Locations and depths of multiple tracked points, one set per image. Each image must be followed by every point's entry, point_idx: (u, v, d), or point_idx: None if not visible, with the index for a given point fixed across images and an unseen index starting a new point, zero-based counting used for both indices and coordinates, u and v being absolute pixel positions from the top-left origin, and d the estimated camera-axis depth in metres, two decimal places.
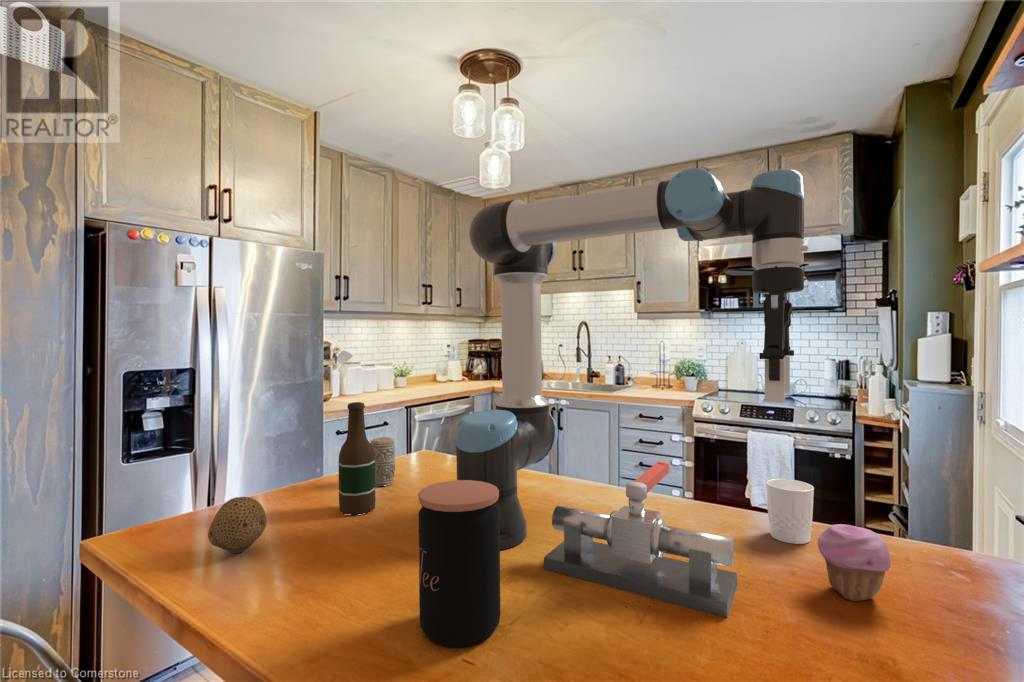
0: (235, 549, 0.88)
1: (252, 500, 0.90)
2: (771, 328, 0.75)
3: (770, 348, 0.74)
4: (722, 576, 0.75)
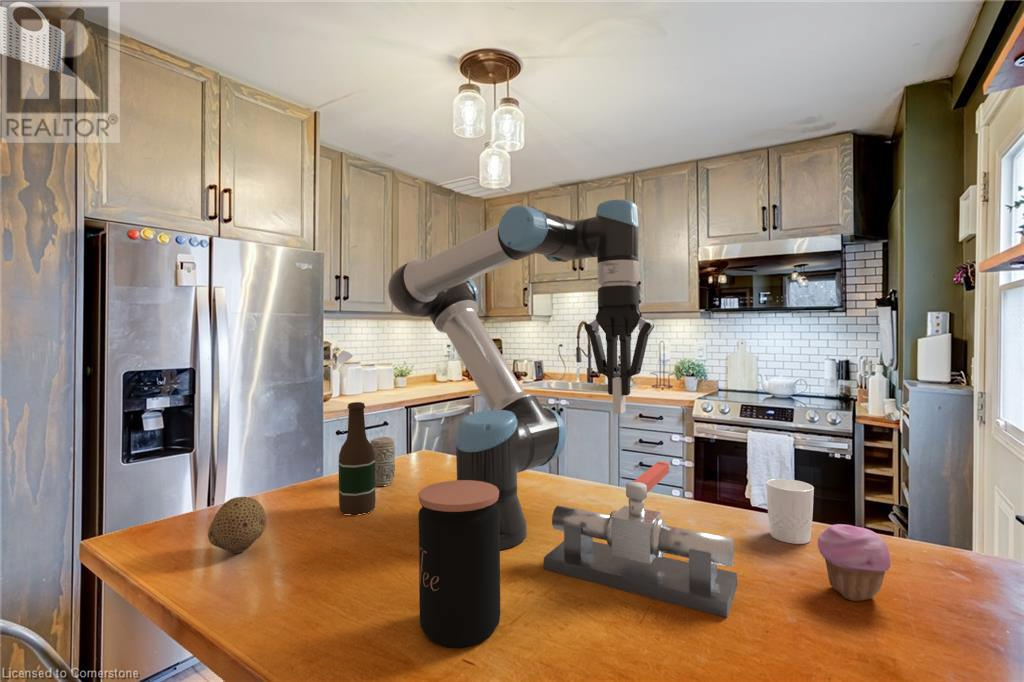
0: (235, 549, 0.88)
1: (252, 500, 0.90)
2: None
3: None
4: (722, 576, 0.75)
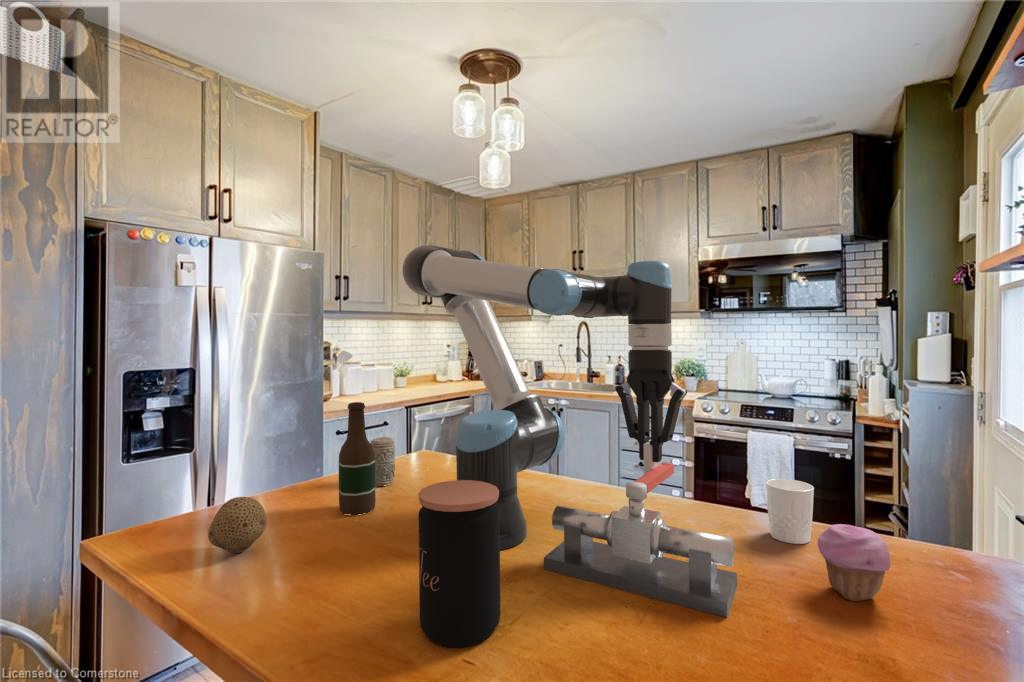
0: (235, 549, 0.88)
1: (252, 500, 0.90)
2: None
3: None
4: (722, 576, 0.75)
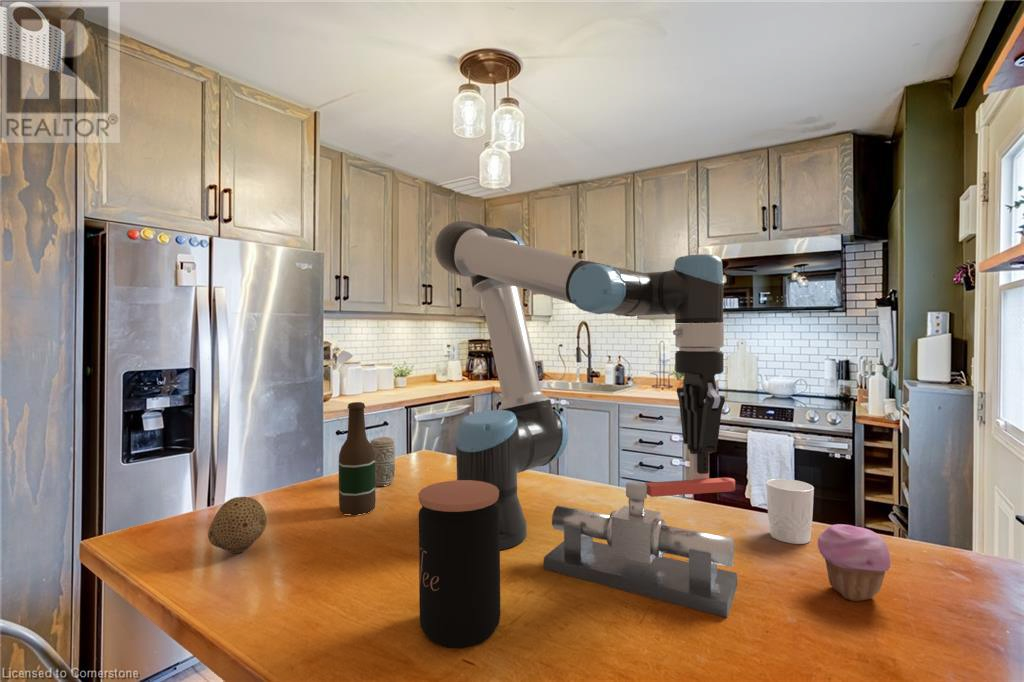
0: (235, 549, 0.88)
1: (252, 500, 0.90)
2: None
3: None
4: (722, 576, 0.75)
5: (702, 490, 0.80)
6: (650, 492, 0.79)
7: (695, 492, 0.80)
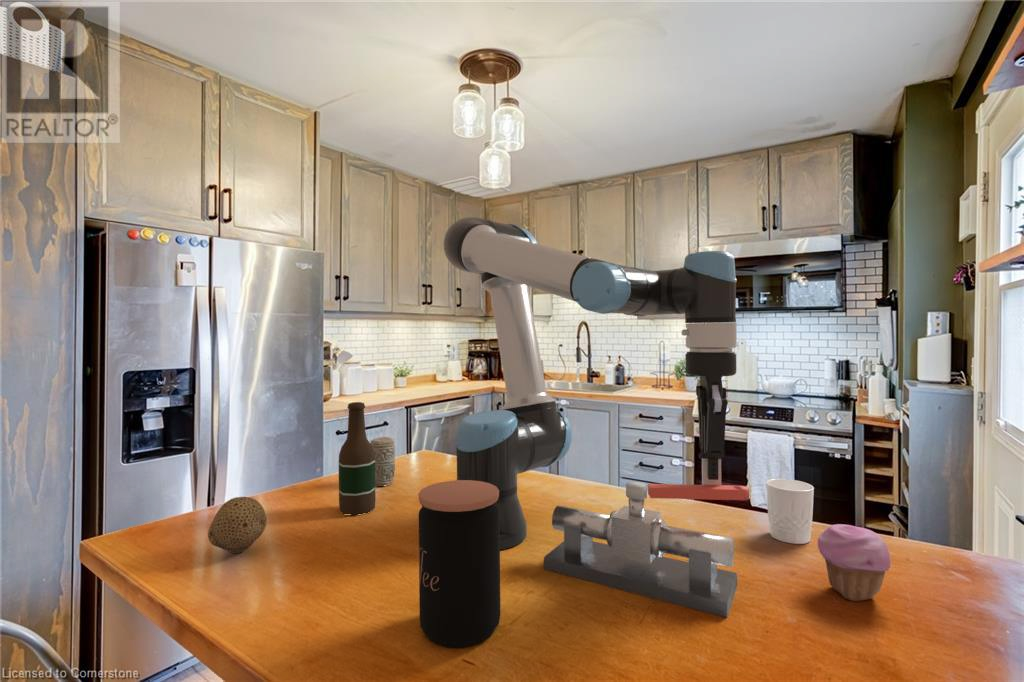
0: (235, 549, 0.88)
1: (252, 500, 0.90)
2: None
3: None
4: (722, 576, 0.75)
5: (708, 496, 0.77)
6: (650, 493, 0.78)
7: (700, 497, 0.77)
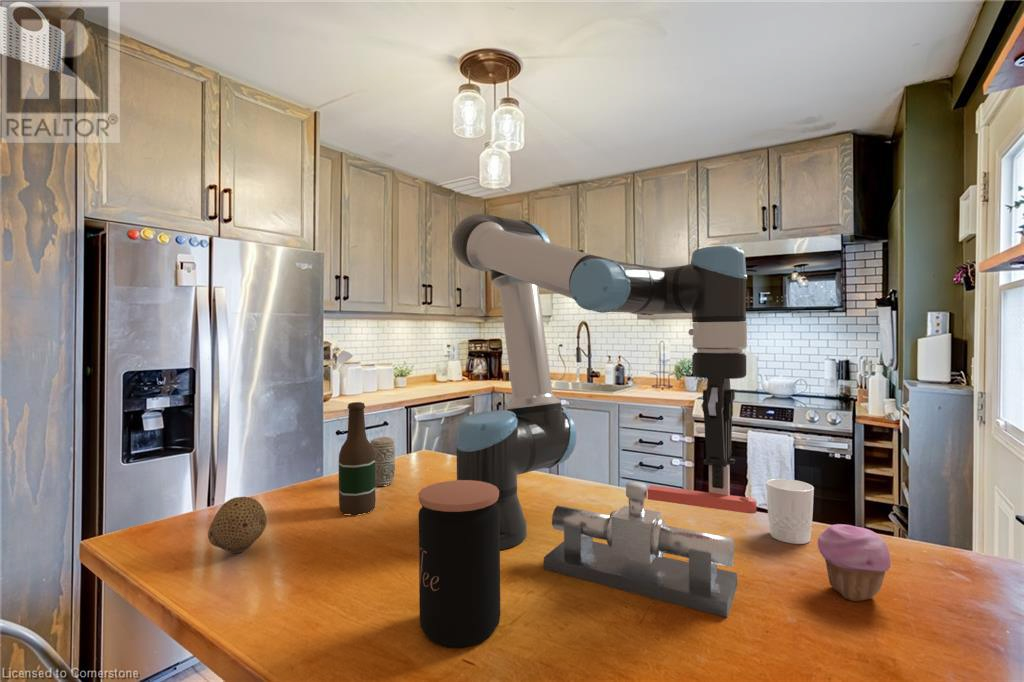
0: (235, 549, 0.88)
1: (252, 500, 0.90)
2: None
3: None
4: (722, 576, 0.75)
5: (708, 504, 0.73)
6: (648, 494, 0.77)
7: (699, 505, 0.74)
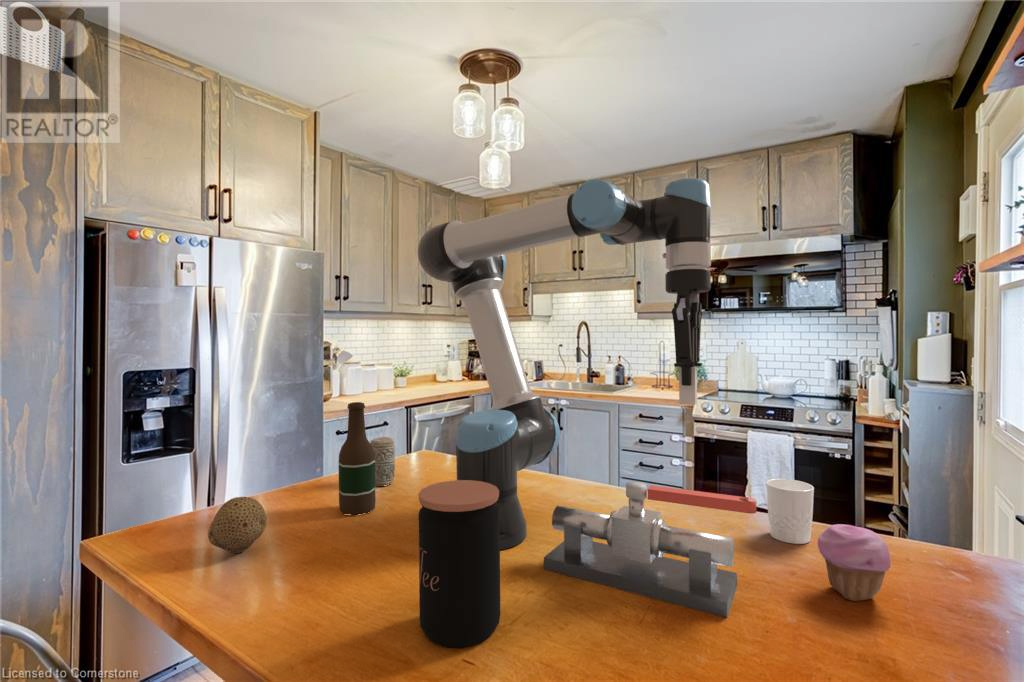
0: (235, 549, 0.88)
1: (252, 500, 0.90)
2: None
3: None
4: (722, 576, 0.75)
5: (708, 504, 0.73)
6: (648, 494, 0.77)
7: (699, 505, 0.74)
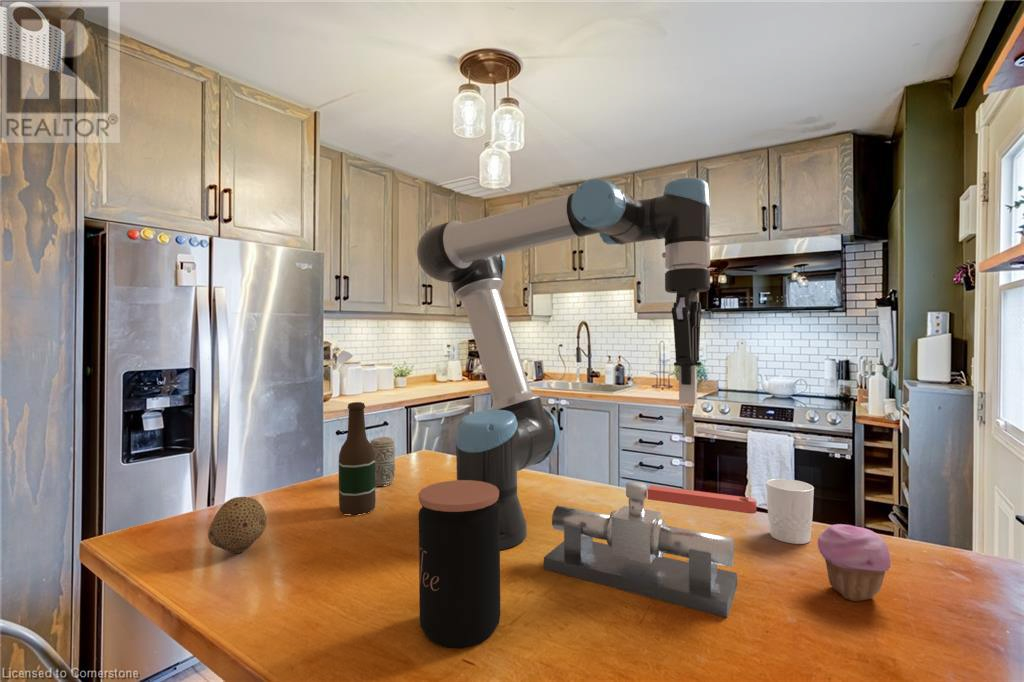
0: (235, 549, 0.88)
1: (252, 500, 0.90)
2: None
3: None
4: (722, 576, 0.75)
5: (708, 504, 0.73)
6: (648, 494, 0.77)
7: (699, 505, 0.74)
